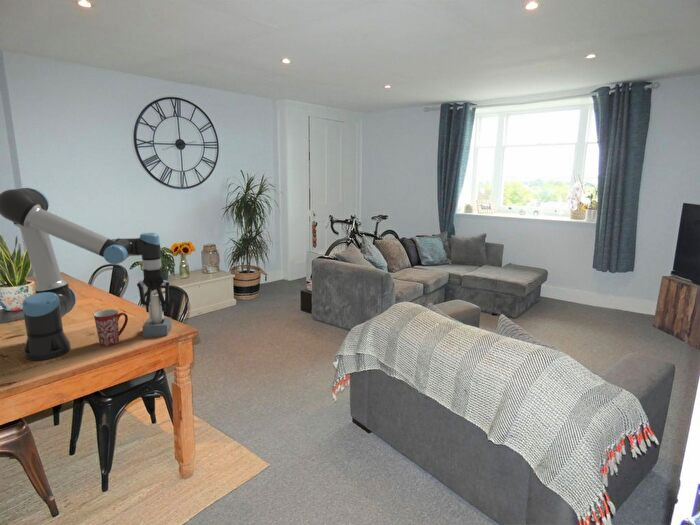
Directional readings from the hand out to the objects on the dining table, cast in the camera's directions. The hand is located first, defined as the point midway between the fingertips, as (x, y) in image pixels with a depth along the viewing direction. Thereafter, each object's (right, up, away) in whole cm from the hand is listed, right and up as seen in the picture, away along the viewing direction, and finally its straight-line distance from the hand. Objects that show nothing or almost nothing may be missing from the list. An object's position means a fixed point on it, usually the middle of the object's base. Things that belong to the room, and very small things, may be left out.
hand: (156, 318), depth 190 cm
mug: (-14, -9, -10) cm, 19 cm away
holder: (0, -6, +1) cm, 7 cm away
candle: (0, -3, +1) cm, 3 cm away
